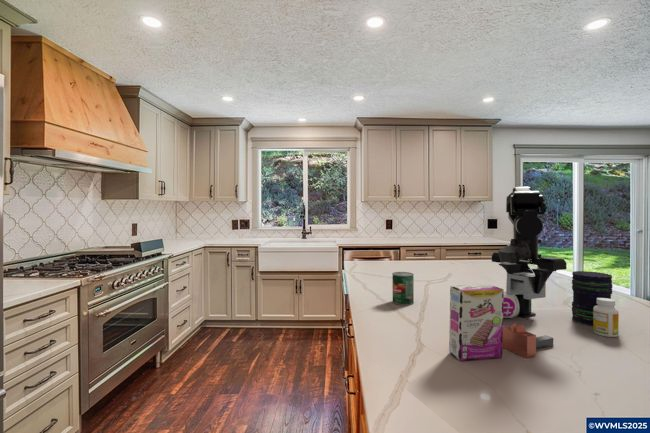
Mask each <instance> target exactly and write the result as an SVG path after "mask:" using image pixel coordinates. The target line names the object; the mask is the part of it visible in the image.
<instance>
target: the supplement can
mask: <svg viewBox="0 0 650 433" xmlns="http://www.w3.org/2000/svg"><path fill="white" fill-rule="evenodd" d="M519 309H520V308H519V301H518V299H517V297H516V296H515V295H508V294H507V292H506V291H504V296H503V319H512V318H514V317H517V315H518V313H519Z"/></svg>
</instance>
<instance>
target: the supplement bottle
mask: <svg viewBox="0 0 650 433" xmlns="http://www.w3.org/2000/svg"><path fill="white" fill-rule="evenodd" d="M597 304H598V305H596V306H594V308H593V326H592V327H593V329H592V330H593V333H595V334H597V335H599V336H602V337H609V338H616V337H619V318H620V317H619V314H620V313H619V310H618V308H617V307H615V306H616V300H615V299H613V298H611V299H608V298H597Z"/></svg>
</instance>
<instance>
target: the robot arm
mask: <svg viewBox="0 0 650 433" xmlns="http://www.w3.org/2000/svg"><path fill="white" fill-rule="evenodd" d="M505 202H506V203H505V211H506V213H507V215H508V216H507V218H508V220H509V222H511V224H512V227H513V231H512V232H513V238H511V239H510V243H509V245H506V246H505V247H503V248H500V249H499V250H497V252H493V253H492V255H491V262H492V263H497V264H498V265H499V266H500V267H501V268H503V269H504V270H505V272H506V274H507V273H518V272H527V273H533V274H535V293H536V294H539V293H540V291H541V290H542V288H543V286H544V284H545V283H546V282H547V281H548V279H549V278H550V277H551V275H552V274H553V272H557V271H564V270H565V271H566V270H567V269H568V268H567V262H566V261H565V259H564V257H563V258H561V257H551V256H549V257H548V256H547V257H542V254H541V253H539V244H542V239H540V238H539V235H540V234H541V233H542V231H543V228H544V226H543V225H544V224H543V222H542V220H541V219H540V218H539V217H538V216H539V215H540V216H544V215H545V213H546V212H547V205H546V199H545V198H544V195H543V194H541V192H540V191H539V190H531V187H530V186H514V187H512V192H511V193H509V195H507V196H506V201H505ZM529 265H533V266H536V268H532V269H531V268H530V266H529ZM505 288H506V291H505V292H507V281H506V286H505ZM515 296H516V297H517V299H518V301H519V308H520V309H519V313H518V315H517V316H518V317H521V318H526V317H531V316H536V315H537V313H536V312H532V299H524V294H517V295H515ZM517 316H516V317H517Z"/></svg>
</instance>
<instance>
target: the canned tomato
mask: <svg viewBox="0 0 650 433" xmlns="http://www.w3.org/2000/svg"><path fill="white" fill-rule="evenodd" d="M414 275H415V274H414V273H412V272H410V271H409V272H407V271H394V272H392V278H391V279H392V287H391V288H392V303H393V304H394V305H398V306H399V305H400V306H412V305H414V294H415V293H414V291H415V290H414V284H415V283H414V282H415V281H414Z"/></svg>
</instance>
